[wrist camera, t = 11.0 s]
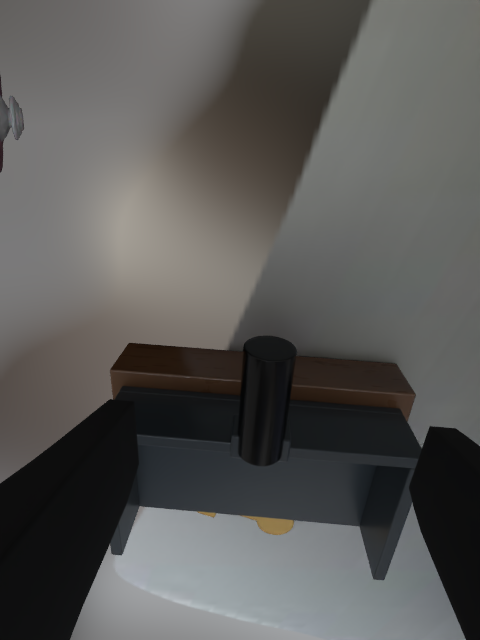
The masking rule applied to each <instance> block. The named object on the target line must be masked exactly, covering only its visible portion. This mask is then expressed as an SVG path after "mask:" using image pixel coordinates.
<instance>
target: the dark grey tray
mask: <svg viewBox="0 0 480 640" xmlns="http://www.w3.org/2000/svg"><path fill="white" fill-rule="evenodd" d="M296 355H297V350H296V347H295V346H294V345H293V344H292V343H291V342H289V341H287V340H285V339H282V338H279V337H274V336H257V337H253V338H251V339H249V340H247V341H246V342H245V344H244V347H243V361H242V375H241V389H240V395H228V394H216V393H203V392H191V391H179V390H167V389H155V388H142V387H130V386H122V387H121V389H120V391H119V392H118V394H117V396H116V397H115V399H114V400H124V401H134V406H135V418H136V431H137V443H138V456H139V465H138V469H137V472H136V476H135V479H134V482H133V486H132V489H131V492H130V495H129V498H128V502H127V505H126V507H125V509H124V512H123V514H122V516H121V519H120V521H119V523H118V526H117V528H116V530H115V533H114V535H113V538H112V540H111V542H110V546H111V553H112V554H113V555H122V554H123V552H124V549H125V546H126V543H127V540H128V537H129V534H130V532H131V529H132V526H133V523H134V520H135V517H136V515H137V512H138V509H139V506H143V507H154V508H165V509H176V510H187V511H198V512H209V513H220V514H231V515H242V516H253V517H264V518H275V519H286V520H297V521H308V522H319V523H330V524H341V525H352V526H360V530H361V534H362V537H363V541H364V545H365V549H366V553H367V557H368V560H369V564H370V568H371V572H372V576H373V579H376V580H384V579H385V577H386V574H387V571H388V568H389V566H390V563H391V560H392V557H393V554H394V552H395V549H396V546H397V543H398V540H399V538H400V535H401V532H402V529H403V527H404V524H405V521H406V518H407V515H408V513H409V510H410V507H411V504H412V498H411V495H410V491H409V485H410V482H411V479H412V476H413V473H414V471H415V468H416V465H417V462H418V459H419V456H420V453H421V450H422V449H421V447H420V445H419V443H418V441H417V439H416V437H415V436H414V434H413V432H412V430H411V428H410V426H409V424H408V423H407V421H406V419H405V417H404V415H403V413H402V411H401V409H399V408H387V407H374V406H362V405H350V404H338V403H326V402H313V401H301V400H290V398H291V391H292V384H293V377H294V370H295V362H296Z"/></svg>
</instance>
